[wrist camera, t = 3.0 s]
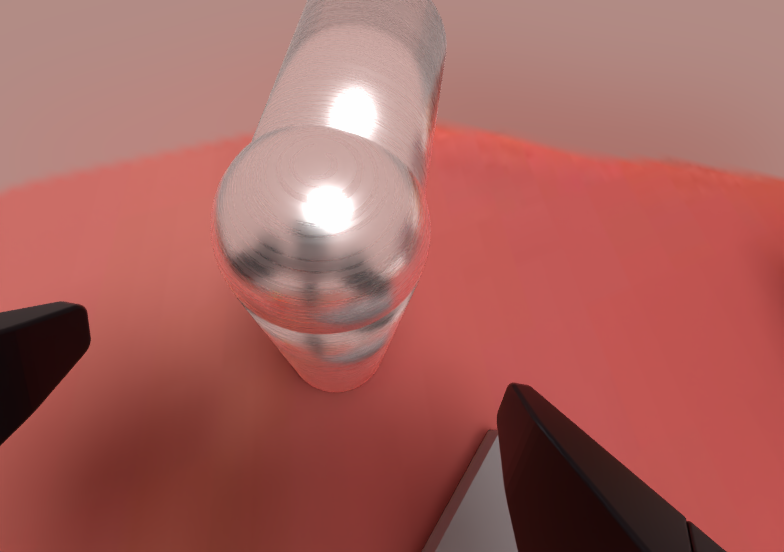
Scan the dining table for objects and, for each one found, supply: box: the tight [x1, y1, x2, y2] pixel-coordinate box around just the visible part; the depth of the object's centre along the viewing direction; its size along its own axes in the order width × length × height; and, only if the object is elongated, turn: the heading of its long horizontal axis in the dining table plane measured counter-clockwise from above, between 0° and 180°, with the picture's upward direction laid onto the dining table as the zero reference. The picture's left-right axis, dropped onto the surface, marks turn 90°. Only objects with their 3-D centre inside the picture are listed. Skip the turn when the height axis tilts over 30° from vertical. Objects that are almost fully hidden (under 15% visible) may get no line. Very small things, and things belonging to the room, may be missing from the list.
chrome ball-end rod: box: [211, 0, 446, 393], centre depth 13 cm, size 8×4×13 cm, turn 171°
